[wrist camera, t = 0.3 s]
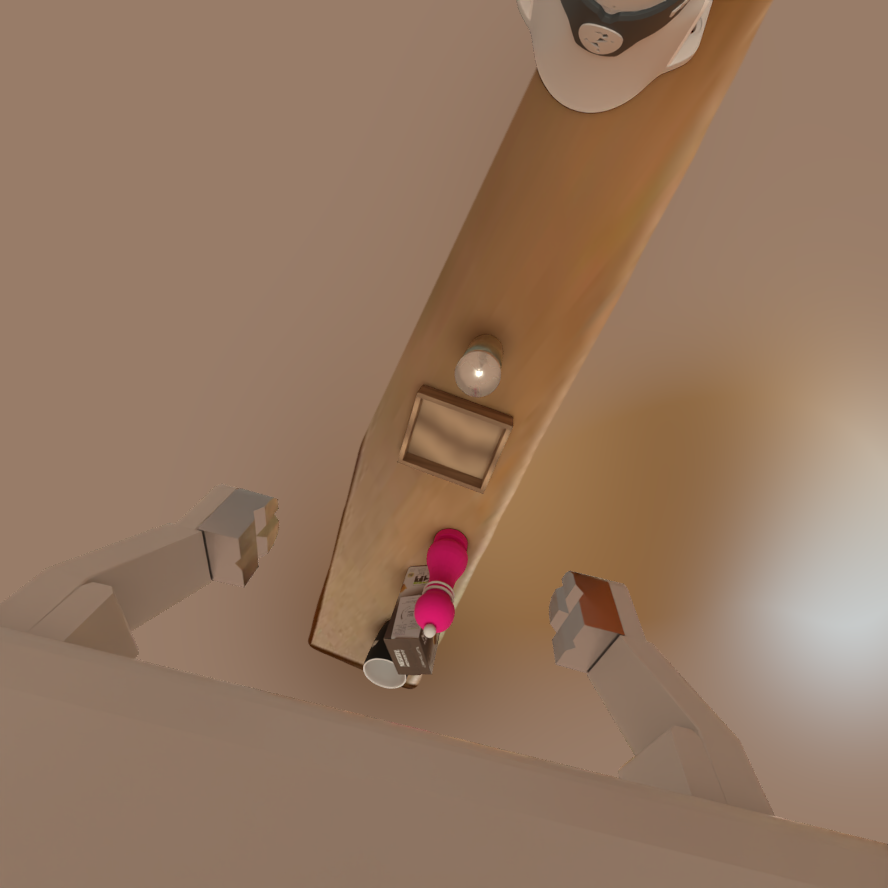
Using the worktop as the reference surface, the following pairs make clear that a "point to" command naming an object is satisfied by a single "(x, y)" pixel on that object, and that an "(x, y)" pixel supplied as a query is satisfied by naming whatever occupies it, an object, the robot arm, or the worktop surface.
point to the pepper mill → (441, 581)
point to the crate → (454, 438)
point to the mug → (382, 664)
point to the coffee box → (410, 629)
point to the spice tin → (480, 366)
